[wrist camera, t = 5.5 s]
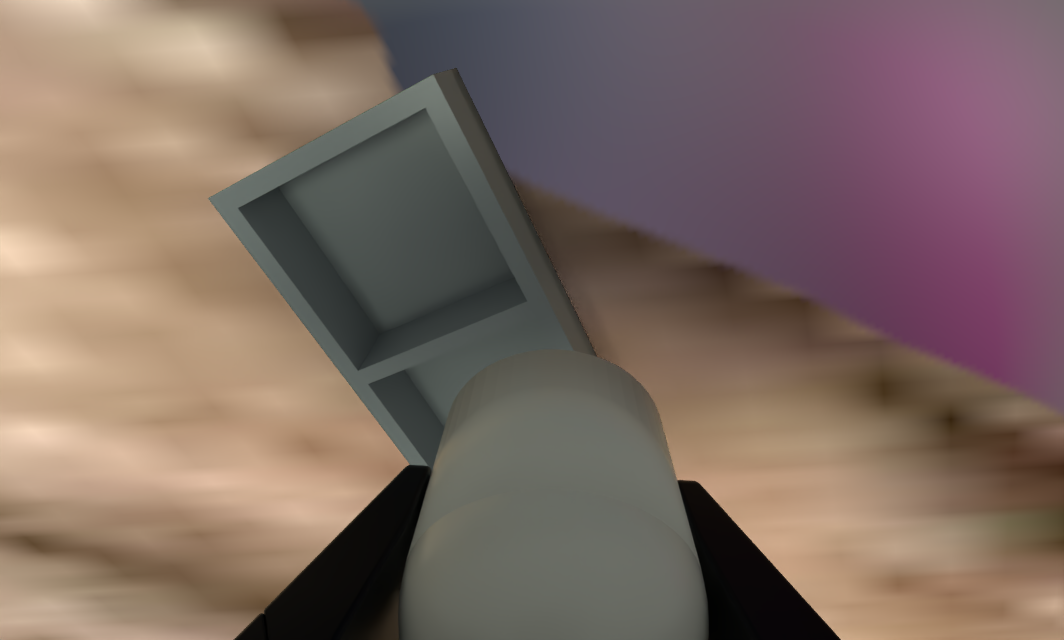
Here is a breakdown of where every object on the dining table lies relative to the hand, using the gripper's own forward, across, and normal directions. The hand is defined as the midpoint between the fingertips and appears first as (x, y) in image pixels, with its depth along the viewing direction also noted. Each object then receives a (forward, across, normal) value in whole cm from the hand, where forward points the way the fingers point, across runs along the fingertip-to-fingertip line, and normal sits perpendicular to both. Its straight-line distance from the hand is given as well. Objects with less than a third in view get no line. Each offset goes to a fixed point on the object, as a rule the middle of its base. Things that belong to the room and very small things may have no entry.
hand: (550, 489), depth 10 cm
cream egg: (+1, 0, 0) cm, 1 cm away
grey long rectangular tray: (+11, +2, +5) cm, 12 cm away
